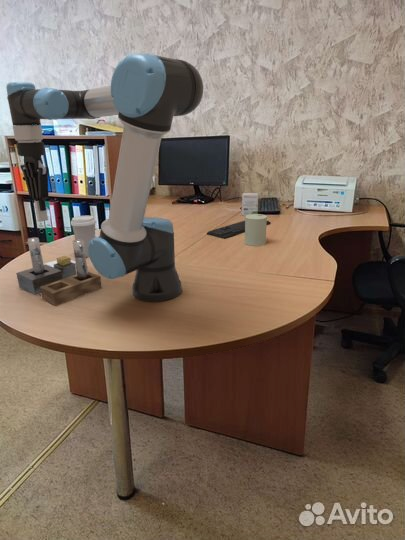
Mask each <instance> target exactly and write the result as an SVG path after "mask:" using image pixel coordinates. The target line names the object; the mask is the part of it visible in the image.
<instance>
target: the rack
mask: <svg viewBox="0 0 405 540" xmlns="http://www.w3.org/2000/svg"><path fill="white" fill-rule="evenodd" d="M99 289H102V280H101V275H99V274H95V273H93V272H90V271H88V279H86V280H83V281H79V280H78V276H77V273H76V275H73V276H70V277H68V278H65V279H62V280H59V281H56V282H53V283H50V284H47V285H44V286H41V287H40V290H41V293H40V295H41V299H42V300H44V301H45V302H47V303H49V304H51V305H53V306H55V307H56V306H60V305H61V304H64V303H66V302H69V301H72V300H73V299H76V298H79V297H83V296H85V295H87V294H89V293H92V292H94V291H97V290H99Z"/></svg>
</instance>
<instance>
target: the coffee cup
mask: <svg viewBox="0 0 405 540" xmlns="http://www.w3.org/2000/svg"><path fill="white" fill-rule="evenodd" d="M96 223H97V220H96V219H95V218H94V216H92V215H78V216H74V217H72V218H71V221H70V226H71V227H72V230H73V236H74V240H76V239H83V240H84V248H85V256H86V258H90V257H89V253H88V245H89V242H90V241H91V240H92V239H94V238H95V237H96Z"/></svg>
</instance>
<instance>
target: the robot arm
mask: <svg viewBox="0 0 405 540" xmlns="http://www.w3.org/2000/svg"><path fill="white" fill-rule="evenodd" d="M6 95H7V96H6V98H7V102H8V108H9V113H10V117H11V122H12V130H13V134H14V136H13V137H14V140H15V141H16V151H17V155H18V156H19V157H23V164H21V165H20V170H21V172H22V174H23V178H24V181H25V184H26V188H27V192H28V195H29V197H30V198H32V200H34V203H33V204H34V209H35V214H36V220H37V222H45V221H49V218H48V217H49V216H48V211H47V210H48V209H47V205H46V204H47V203H46V200H47V199H50V198H49V197H50V196H49V172H50V171H49V167H48V166H45V165H44V162H43V158H42V156H44V155H46V149H45V148H46V147H45V143H44V142H43V139H44V136H43V131H44V130H43V128H42V123H41V120H49V121H51V120H74V119H75V120H80V119H82V120H83V119H84V120H95V119H100V118H102V117H113V116H117V118H118V120H119V121H120V123H121V125H122V126H123V128H122V129H123V130H122V136H121V141H120V147H119V153H118V159H117V166H116V172H115V177H114V182H113V183H114V184H113V189H112V190H113V191H112V197H111V202H110V207H109V215H108V218H107V219H105V220H104V221H102V223H101V224H100V232H99V236H95V238H94V239H92V240H91V241H90V242H89V245H88V253H89V257H88V258H89V260H90V263H91V264H92V266H93V267H94V269H95V270H96V271H97V272H98V274H100V276H102V277H104V278H106V279H108V280H114V279H117V278H121V277H125V276H127V275H129V274H130V273H133V272H135V271H136V272H135V276H134V279H133V280H134V281H133V283H132V289H131V290H132V295H133V296H134V297H135V298H136V299H138V300H140V301H144V302H150V303H151V302H163V301H164V302H165V301H169V300H172V299H175V298H176V297H178V296H179V295H180V294H181V293H182V291H183V290H182V289H183V288H182V287H183V286H182V285H183V284H182V281H181V280H180V276H179V274H178V272H177V268H176V257H175V254H176V253H175V232H174V224H173V222H172V221H171V220H170V219H167V218H162V217H157V216H155V217H152V216H145V215H146V210H147V205H148V201H149V196H150V192H151V187H152V182H153V178H154V174H155V169H156V166H157V165H156V163H157V159H158V155H159V152H160V146H161V142H162V138H163V136H165V135H166V134H168V133H169V132H171V129H172V124H173V120H174V117H182V116H186V115H188V114H191V113H192V112H193V111H195V110H196V109H197V108H198V107H199V105H200V103H201V101H202V98H203V97H204V83H203V79H202V76H201V73H200V72H199V71H198V69H197V68H196V67H195V66H194V65H193V64H191V63H189V62H188V61H186V60H183V59H177V58H171V57H167V56H166V57H165V56H162V55H161V56H160V55H155V54H150V53H131V54H129V55H127V56H125V57H124V58H123V59H122V60H120V61H119V62H118V63H117V65H116V67H115V68H114V71H113V73H112V76H111V80H110V85H107V86H100V87H96V88H95V87H94V88H90V89H85V90H84V89H83V90H68V89H58V88H55V87H54V88H52V87H43V88H39V89H36V85H35V83H32V82H26V81H24V82H23V81H16V82H8V83H7V84H6Z"/></svg>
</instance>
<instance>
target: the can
mask: <svg viewBox="0 0 405 540" xmlns="http://www.w3.org/2000/svg"><path fill="white" fill-rule="evenodd" d="M244 219H245V220H244V221H245V233H244V244H245V245H246V246H252V247H260V246H265V245H266V244H267V225H266V223H267V221H268V216H267V215H265V214H261V213H258V214H249V215H246V216H244Z"/></svg>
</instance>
